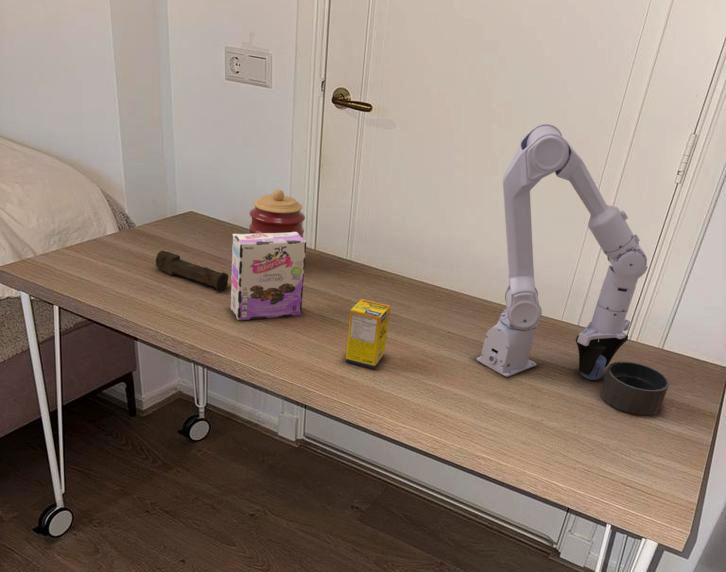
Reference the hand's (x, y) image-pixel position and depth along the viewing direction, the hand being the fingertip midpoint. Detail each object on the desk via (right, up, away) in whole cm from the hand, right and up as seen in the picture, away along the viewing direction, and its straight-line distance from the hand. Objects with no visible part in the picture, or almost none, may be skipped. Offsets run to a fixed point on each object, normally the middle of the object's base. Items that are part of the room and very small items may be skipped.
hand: (592, 369), depth 140 cm
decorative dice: (0, -1, +1) cm, 2 cm away
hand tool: (-84, +21, +19) cm, 89 cm away
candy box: (-65, +12, +9) cm, 67 cm away
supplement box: (-45, +1, -4) cm, 45 cm away
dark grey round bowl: (+5, -6, -7) cm, 10 cm away
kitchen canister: (-67, +27, +34) cm, 79 cm away
